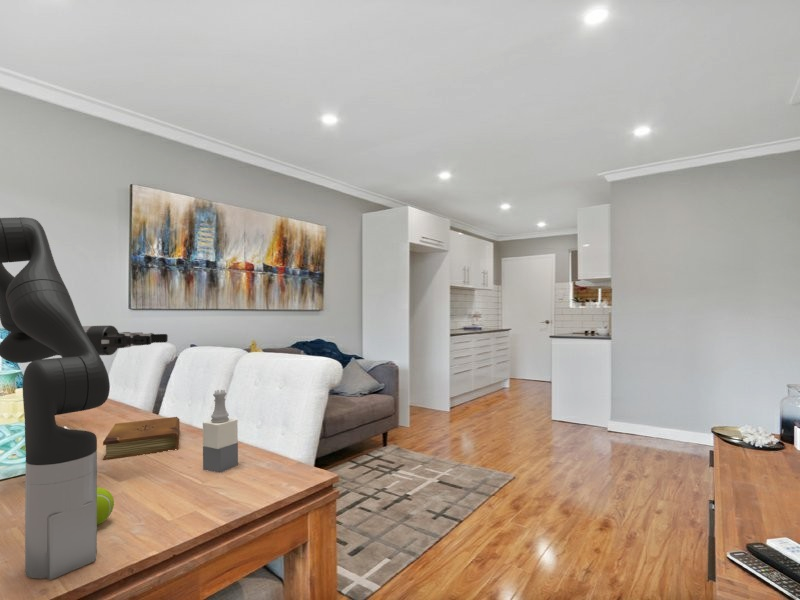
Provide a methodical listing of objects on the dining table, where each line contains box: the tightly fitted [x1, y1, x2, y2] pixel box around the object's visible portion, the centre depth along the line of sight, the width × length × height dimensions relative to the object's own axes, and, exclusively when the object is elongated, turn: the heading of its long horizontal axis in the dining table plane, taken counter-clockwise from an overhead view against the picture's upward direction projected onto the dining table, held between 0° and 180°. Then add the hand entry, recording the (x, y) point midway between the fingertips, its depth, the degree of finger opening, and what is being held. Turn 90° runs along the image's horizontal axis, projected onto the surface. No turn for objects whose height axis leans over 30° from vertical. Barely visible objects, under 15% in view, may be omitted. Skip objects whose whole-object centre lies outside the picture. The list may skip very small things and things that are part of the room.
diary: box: [102, 416, 180, 461], centre depth 135 cm, size 23×19×6 cm
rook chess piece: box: [210, 389, 230, 423], centre depth 113 cm, size 4×4×8 cm
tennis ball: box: [97, 486, 115, 526], centre depth 82 cm, size 7×7×7 cm
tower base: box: [202, 443, 239, 473], centre depth 113 cm, size 6×6×6 cm
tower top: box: [202, 418, 239, 449], centre depth 113 cm, size 6×6×6 cm
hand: (159, 339), depth 110 cm, fingers open, 8 cm apart
